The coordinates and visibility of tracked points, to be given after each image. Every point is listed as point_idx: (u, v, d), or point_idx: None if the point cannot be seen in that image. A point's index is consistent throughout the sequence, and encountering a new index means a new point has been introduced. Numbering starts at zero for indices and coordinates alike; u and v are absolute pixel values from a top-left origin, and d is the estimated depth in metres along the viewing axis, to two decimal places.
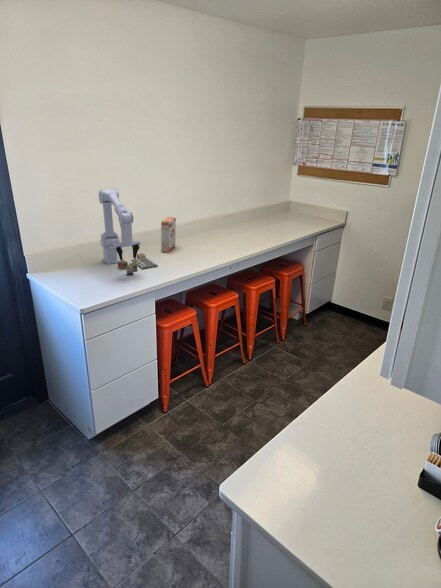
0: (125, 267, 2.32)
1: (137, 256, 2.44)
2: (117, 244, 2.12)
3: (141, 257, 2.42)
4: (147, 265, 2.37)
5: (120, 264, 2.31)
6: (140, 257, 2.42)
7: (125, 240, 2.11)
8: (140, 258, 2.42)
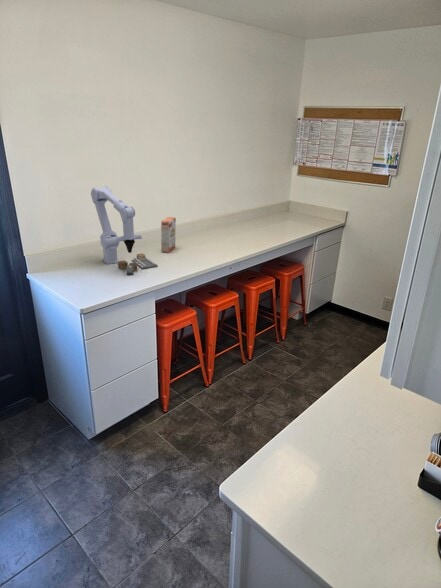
0: (125, 267, 2.32)
1: (137, 256, 2.44)
2: (119, 238, 2.21)
3: (141, 257, 2.42)
4: (147, 265, 2.37)
5: (120, 264, 2.31)
6: (140, 257, 2.42)
7: (127, 234, 2.21)
8: (140, 258, 2.42)
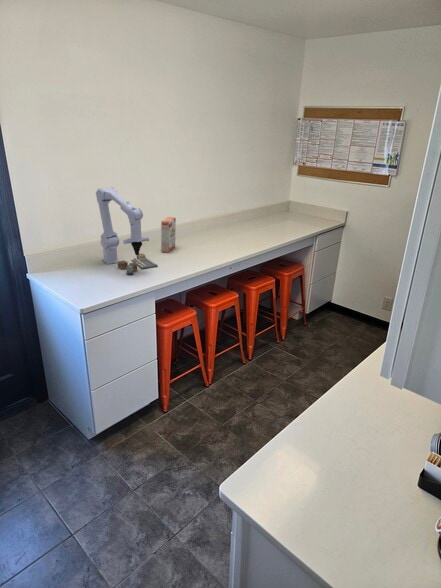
0: (125, 267, 2.32)
1: (137, 256, 2.44)
2: (127, 240, 2.19)
3: (141, 257, 2.42)
4: (147, 265, 2.37)
5: (120, 264, 2.31)
6: (140, 257, 2.42)
7: (134, 236, 2.19)
8: (140, 258, 2.42)
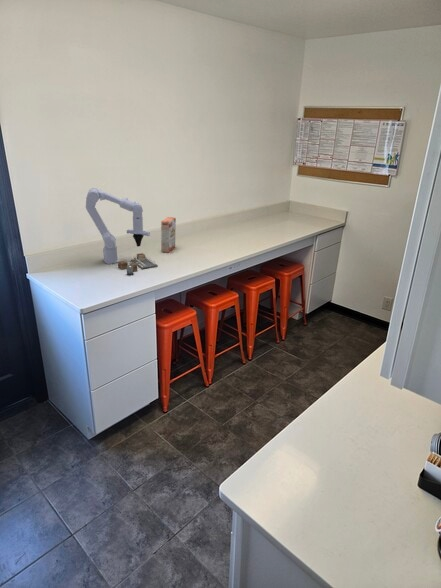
0: (125, 267, 2.32)
1: (137, 256, 2.44)
2: (129, 230, 2.41)
3: (141, 257, 2.42)
4: (147, 265, 2.37)
5: (120, 264, 2.31)
6: (140, 257, 2.42)
7: (133, 228, 2.37)
8: (140, 258, 2.42)
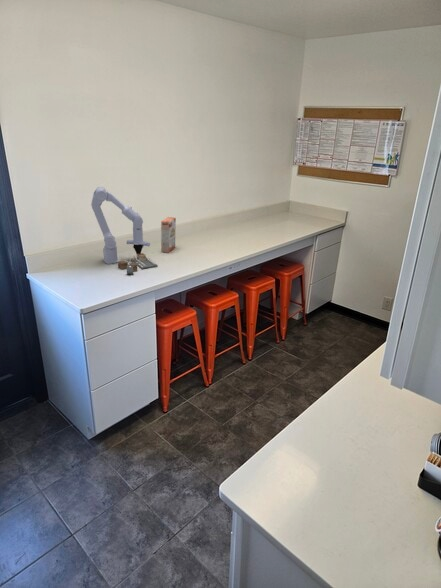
0: (125, 267, 2.32)
1: (137, 256, 2.43)
2: (129, 241, 2.44)
3: (141, 258, 2.42)
4: (147, 265, 2.37)
5: (120, 264, 2.31)
6: (140, 257, 2.42)
7: (133, 238, 2.41)
8: (140, 258, 2.42)
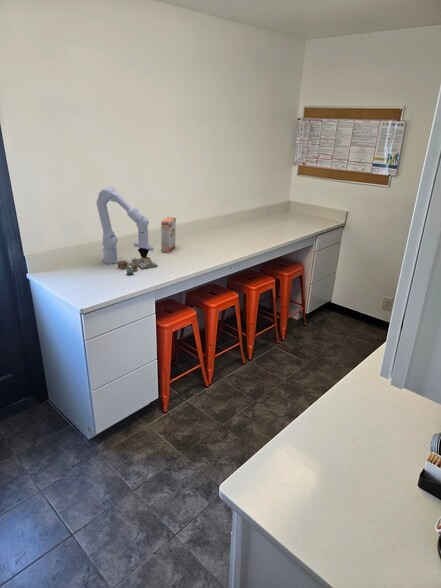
0: (125, 267, 2.32)
1: (142, 260, 2.37)
2: (136, 243, 2.40)
3: (146, 262, 2.36)
4: (147, 265, 2.37)
5: (120, 264, 2.31)
6: (146, 261, 2.36)
7: None
8: (146, 262, 2.36)
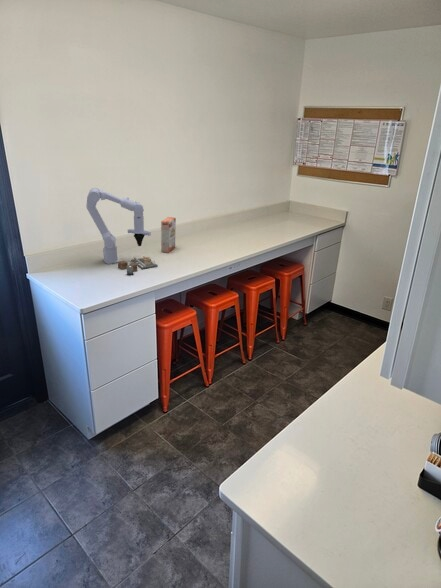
0: (125, 267, 2.32)
1: (142, 260, 2.37)
2: (130, 230, 2.41)
3: (146, 262, 2.36)
4: (147, 265, 2.37)
5: (120, 264, 2.31)
6: (146, 261, 2.36)
7: (134, 227, 2.37)
8: (146, 262, 2.36)
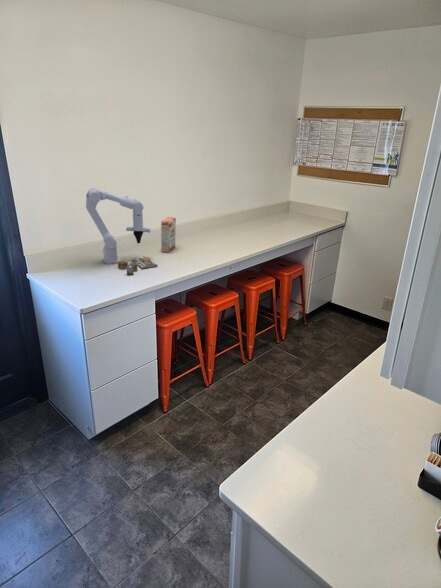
0: (125, 267, 2.32)
1: (142, 260, 2.37)
2: (129, 227, 2.42)
3: (146, 262, 2.36)
4: (147, 265, 2.37)
5: (120, 264, 2.31)
6: (146, 261, 2.36)
7: (134, 225, 2.39)
8: (146, 262, 2.36)
